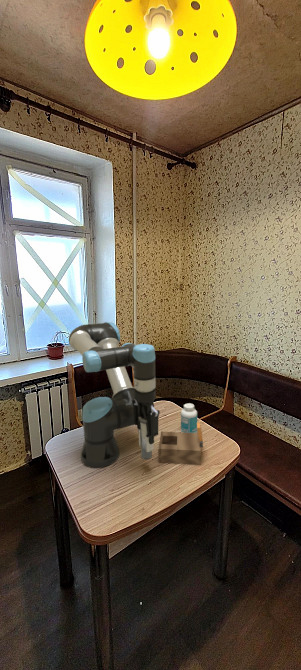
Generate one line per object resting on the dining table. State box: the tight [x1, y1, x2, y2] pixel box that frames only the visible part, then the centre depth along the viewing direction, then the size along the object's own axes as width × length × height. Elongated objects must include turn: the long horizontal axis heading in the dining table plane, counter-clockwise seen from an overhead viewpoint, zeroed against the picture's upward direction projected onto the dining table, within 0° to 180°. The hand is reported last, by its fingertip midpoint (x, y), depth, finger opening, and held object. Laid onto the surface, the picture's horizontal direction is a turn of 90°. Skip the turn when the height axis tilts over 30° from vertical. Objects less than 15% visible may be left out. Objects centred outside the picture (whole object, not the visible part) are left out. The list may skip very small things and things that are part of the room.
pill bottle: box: [180, 402, 198, 433], centre depth 124 cm, size 8×7×14 cm
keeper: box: [197, 421, 204, 442], centre depth 107 cm, size 6×4×1 cm
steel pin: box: [138, 415, 153, 460], centre depth 99 cm, size 5×5×16 cm
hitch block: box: [158, 430, 204, 466], centre depth 109 cm, size 17×12×8 cm
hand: (146, 447), depth 100 cm, fingers closed on steel pin, 4 cm apart
